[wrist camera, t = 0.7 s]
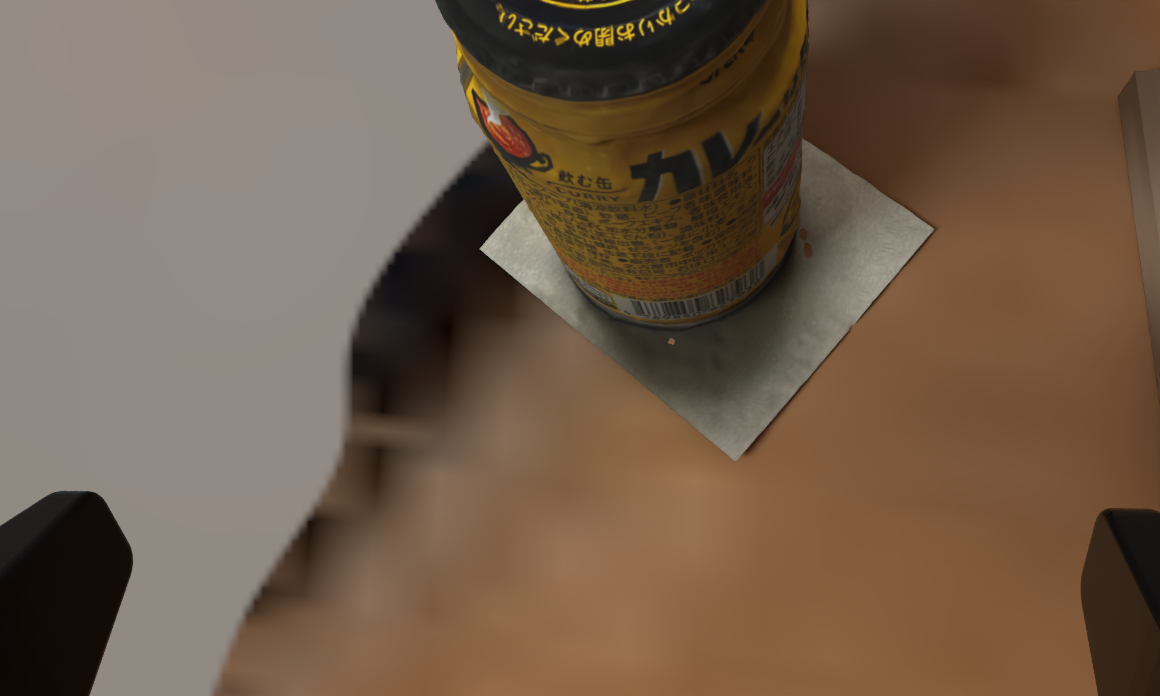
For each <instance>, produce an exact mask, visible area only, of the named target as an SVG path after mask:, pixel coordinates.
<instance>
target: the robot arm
mask: <svg viewBox="0 0 1160 696" xmlns="http://www.w3.org/2000/svg"><path fill="white" fill-rule="evenodd" d="M132 565H133V554H132V550H131V547H130V545H129V543H128V541H127V539H126V537H125V536H124V534H123V532H122V530H121V528H120V527H119V525H118V523H117V521H116V520H115V518H114V516H113V514H112V512H111V511H110V509H109V507H108V505H107V504H106V502H105V501H104V499H103V498H102V497H101V496H100V495H98V494H97V493H94V492H90V491H59V492H54V493H51V494H49V495H47V496H46V497H44V498H43V499H41V500H39V501H38V502H36V503H35V504H33V505H32V506H30V507H29V508H27V509H26V510H24V511H23V512H21V513H19V514H18V515H16V516H15V517H13V518H12V519H10V520H9V521H7V522H6V523H4V524H2V525H1V526H0V696H89V695H90V692H91V690H92V686H93V684H94V681H95V678H96V675H97V672H98V669H99V666H100V663H101V660H102V657H103V655H104V651H105V649H106V645H107V643H108V640H109V637H110V634H111V631H112V628H113V625H114V622H115V619H116V616H117V613H118V611H119V608H120V605H121V602H122V599H123V596H124V593H125V590H126V587H127V584H128V581H129V578H130V576H131V572H132ZM1081 601H1082V608H1083V613H1084V619H1085V624H1086V630H1087V635H1088V641H1089V646H1090V652H1091V657H1092V663H1093V668H1094V674H1095V679H1096V685H1097V691H1098V696H1160V512H1158V511H1156V510H1152V509H1124V508H1109V509H1105V510H1103V511H1102V512H1101V513H1100V514H1099V515H1098V517H1097V519H1096V522H1095V525H1094V529H1093V533H1092V537H1091V541H1090V545H1089V548H1088V552H1087V556H1086V560H1085V564H1084V568H1083V572H1082V577H1081Z"/></svg>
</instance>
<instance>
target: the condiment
mask: <svg viewBox="0 0 1160 696" xmlns="http://www.w3.org/2000/svg"><path fill="white" fill-rule="evenodd" d="M435 1H436V3H437V5H438V8H439V10H440V12H441V14H442V16H443V18H444V20H445V21H446V23H447V25H448V26H449V27H450V28H451V30H452V32H453V35H454V38H455V41H456V46H457V47H456V54H457V61H458V70H459V72H460V80H461V84H462V86H463V89H464V93H465V96H466V99H467V101H468V104H469V107H470V112H471V114H472V117H473V119H474V120H475V121H476V123H477V124H478V125H479V126H480V128H481V129H482V131H483V133H484V135H485V136H486V137H487V139H488V140H489V142H490V144H491V145H492V148H493V149H494V151H495V153H496V154H497V155H498V157H499V158H500V160H501V162H502V164H503V165H504V167H505V168H506V170H507V172H508V173H509V175H510V177H511V179H512V180H513V181H514V183H515V185H516V187H517V188H518V190H519V192H520V193H521V196H522V197H523V199H524V200H523V201H522V202H521V203H520V204H519V205H518V206H517V207H516V208H515V209H514V211H513V212H512V213H511V214H510V215H509V216H508V217H507V218H506V219H505V220H504V222H503V223H502V224H501V225H500V226H499V227H498V228H497V229H496V230H495V232H494V233H493V234H492V235H491V236H490V237H489V238H488V240H487V241H486V242H485V243H484V244H483V246H482V247H481V248H480V250H481V251H483V252H484V253H485V254H486V255H487V256H489V257H490V258H491V259H492V260H493V261H495V262H496V263H497V264H498V265H499V266H501V267H502V268H503V269H504V270H505V271H507V272H508V273H509V274H510V275H511V276H513V277H514V278H515V279H516V280H517V281H519V282H520V283H521V284H522V285H523V286H524V287H526V288H527V289H528V290H529V291H530V292H532V293H533V294H534V295H535V296H536V297H538V298H539V299H541V300H542V301H543V302H544V303H545V304H546V305H547V306H549V307H550V308H551V309H552V310H553V311H554V312H556V313H557V314H558V315H559V316H560V317H562V318H563V319H564V320H565V321H566V322H567V323H569V324H570V325H571V326H573V327H574V328H575V329H576V330H578V331H579V332H580V333H581V334H582V335H583V336H585V337H586V338H587V339H588V340H589V341H591V342H592V343H593V344H594V345H596V346H597V347H598V348H599V349H600V350H602V351H603V353H605V354H606V355H608V356H609V357H610V358H611V359H613V360H614V361H615V362H616V363H618V364H619V365H620V366H621V367H623V368H624V369H625V370H626V371H627V372H629V373H630V374H631V375H633V376H634V377H635V378H636V379H637V380H638V381H639V382H640V383H641V384H643V385H644V386H645V387H646V388H648V389H649V390H650V391H651V392H652V393H653V394H655V395H656V396H657V397H658V398H660V399H661V400H662V401H663V402H664V403H665V404H667V405H668V406H669V407H670V408H671V409H672V410H674V411H675V412H676V413H678V414H679V415H680V416H681V417H682V418H684V419H685V420H686V421H687V422H689V423H690V424H691V425H692V426H694V427H695V428H696V429H697V430H699V431H700V432H701V433H702V434H703V435H705V436H706V437H707V438H708V439H709V440H710V441H712V442H713V443H714V444H715V445H716V446H718V447H719V448H720V449H721V450H722V451H724V452H725V453H726V454H727V455H728V456H730V457H731V458H732V459H733V460H734V461H737V459H738V458H739V457H740V456H741V455H742V454H743V453H744V452H745V450H746V449H747V448H748V447H749V446H750V445H751V444H752V442H753V441H754V440H755V439H756V437H757V436H758V435H759V434H760V433H761V432H762V431H763V430H764V429H765V428H766V426H767V425H768V424H769V423H770V422H771V420H772V419H773V418H774V417H775V416H776V415H777V413H778V412H779V411H780V410H781V409H782V408H783V407H784V405H785V404H786V403H787V402H788V401H789V400H790V398H791V397H792V396H793V395H794V394H795V392H796V391H797V390H798V388H799V387H800V386H801V385H802V384H803V383H804V382H805V381H806V380H807V379H808V378H809V377H810V375H811V374H812V373H813V372H814V371H815V369H816V368H817V367H818V365H819V364H820V363H821V362H822V361H823V360H824V359H825V358H826V356H827V355H828V354H829V353H830V352H831V350H832V349H833V348H834V347H835V346H836V345H837V343H838V342H839V341H840V340H841V339H842V338H843V336H844V335H845V334H846V333H847V332H848V331H849V330H850V327H851V326H853V325H854V324H855V323H856V322H857V320H858V319H859V318H860V316H861V315H862V314H863V313H864V312H865V310H866V309H867V308H868V307H869V306H870V304H871V303H872V301H873V300H874V299H876V297H877V296H878V295H879V294H880V293H881V291H882V290H883V289H884V288H885V287H886V286H887V285H888V283H889V282H890V281H891V280H892V279H893V278H894V276H895V275H896V274H897V273H898V272H899V271H900V269H901V268H902V267H903V265H904V264H905V263H906V262H907V261H908V260H909V258H910V257H911V256H912V255H913V254H914V253H915V251H916V250H917V249H918V248H919V247H920V245H921V244H922V243H923V242H924V241H925V240H926V238H927V237H928V236H929V235H930V234H931V233H932V231H933V230H934V229H933V228H932V227H931V226H929V225H928V224H926V223H925V222H923V221H922V220H920V219H919V218H918V217H916V216H915V215H914V214H913V213H911V212H910V211H909V210H907V209H906V208H904V207H903V206H901V205H900V204H898V203H897V202H895V201H893V200H892V199H890V198H888V197H887V196H886V195H884V194H883V193H881V192H880V191H878V190H877V189H876V188H875V187H874V186H872V185H871V184H870V183H869V182H867V181H866V180H864V179H863V178H861V177H859V176H857V175H856V174H854V173H852V172H851V171H849V170H848V169H847V168H845V167H844V166H843V165H841V164H840V163H839V162H837V161H836V160H835V159H834V158H832V157H831V156H829V155H828V154H826V153H824V152H822V151H821V150H819V149H818V148H816V147H815V146H814V145H812V144H811V143H809V142H808V141H806V140H804V139H803V119H804V109H805V106H806V103H805V96H806V78H807V57H808V48H809V44H808V36H809V29H808V2H807V0H435ZM803 228H804V229H805V230H806V231H807V238H806V239H805V240H802V239H800V236H799V234H800V230H802V229H803ZM805 243H807V244H810V246H811V249H812V253H813V254H812V255H811V257H810V258H806V255H805V253H804V245H805ZM670 338H673V339H674V340H675V344H674V345H672V344H668V343H667V342H668V341H669V339H670Z"/></svg>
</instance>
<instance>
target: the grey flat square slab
mask: <svg viewBox="0 0 1160 696" xmlns="http://www.w3.org/2000/svg"><path fill="white" fill-rule="evenodd" d="M1118 101H1119V108H1120V115H1121V123H1122V130H1123V137H1124V145H1125V152H1126V159H1127V167H1128V174H1129V181H1130V189H1131V196H1132V203H1133V211H1134V218H1135V225H1136V233H1137V240H1138V247H1139V255H1140V262H1141V270H1142V277H1143V284H1144V292H1145V299H1146V306H1147V314H1148V321H1149V328H1150V336H1151V343H1152V350H1153V358H1154V365H1155V372H1156V380H1157V387H1158V394H1159V402H1160V70H1147V71H1135V72H1134V74H1133V75H1132V77H1131V78H1130V80H1129V81H1128V83H1127V84H1126V86H1125V87H1124V89H1123V90H1122V92H1121V93H1120V94H1119V96H1118Z"/></svg>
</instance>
